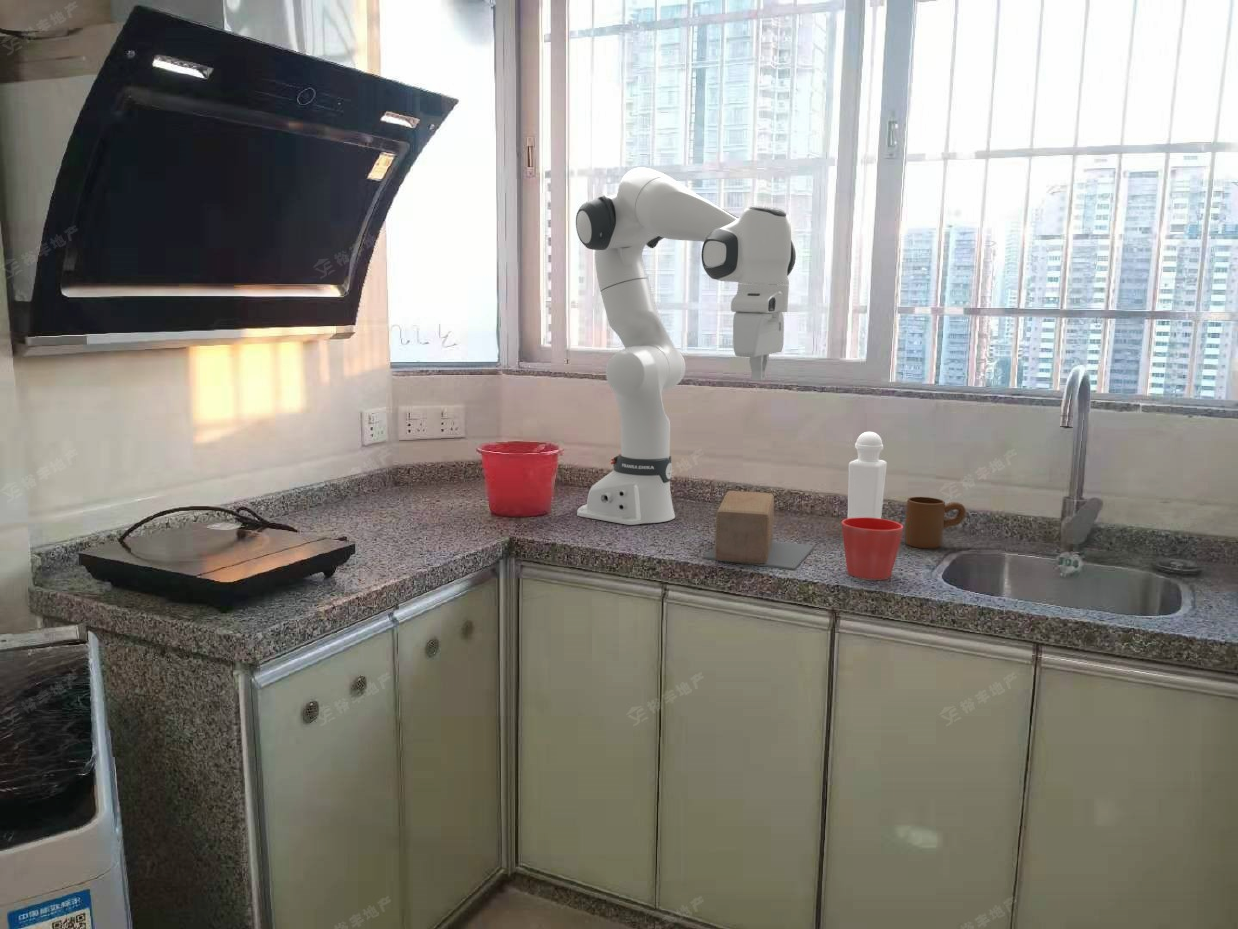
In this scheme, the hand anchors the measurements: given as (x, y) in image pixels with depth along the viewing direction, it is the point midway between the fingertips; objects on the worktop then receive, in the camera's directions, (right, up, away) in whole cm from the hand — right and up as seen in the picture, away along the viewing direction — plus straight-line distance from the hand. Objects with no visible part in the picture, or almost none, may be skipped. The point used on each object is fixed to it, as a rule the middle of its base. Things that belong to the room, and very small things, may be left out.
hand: (758, 380), depth 169 cm
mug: (+41, -32, +28) cm, 59 cm away
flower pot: (+21, -35, +6) cm, 42 cm away
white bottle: (+29, -30, +38) cm, 56 cm away
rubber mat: (+3, -32, +20) cm, 38 cm away
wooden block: (-2, -29, +9) cm, 30 cm away
